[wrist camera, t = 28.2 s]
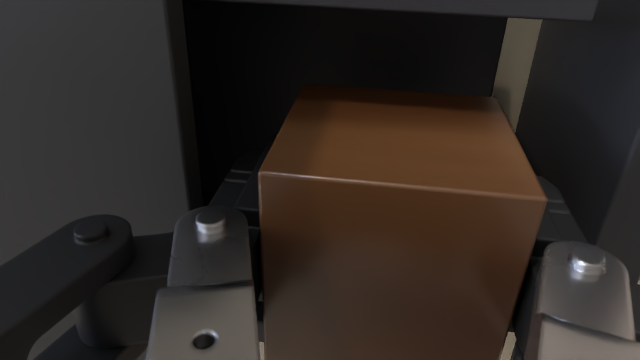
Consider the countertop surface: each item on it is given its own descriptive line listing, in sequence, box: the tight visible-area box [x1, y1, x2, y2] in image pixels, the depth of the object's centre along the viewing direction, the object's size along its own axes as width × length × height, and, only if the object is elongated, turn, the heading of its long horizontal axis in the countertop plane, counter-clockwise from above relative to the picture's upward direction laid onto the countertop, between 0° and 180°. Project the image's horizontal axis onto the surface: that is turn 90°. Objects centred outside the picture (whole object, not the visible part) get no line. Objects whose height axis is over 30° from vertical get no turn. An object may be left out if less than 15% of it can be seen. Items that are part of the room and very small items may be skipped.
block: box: [258, 84, 547, 360], centre depth 11 cm, size 4×4×4 cm
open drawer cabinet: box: [182, 0, 640, 342], centre depth 14 cm, size 19×11×8 cm, turn 88°
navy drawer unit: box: [0, 0, 203, 360], centre depth 16 cm, size 16×13×10 cm
